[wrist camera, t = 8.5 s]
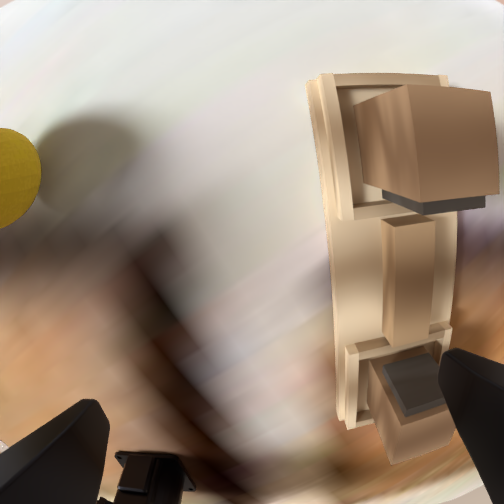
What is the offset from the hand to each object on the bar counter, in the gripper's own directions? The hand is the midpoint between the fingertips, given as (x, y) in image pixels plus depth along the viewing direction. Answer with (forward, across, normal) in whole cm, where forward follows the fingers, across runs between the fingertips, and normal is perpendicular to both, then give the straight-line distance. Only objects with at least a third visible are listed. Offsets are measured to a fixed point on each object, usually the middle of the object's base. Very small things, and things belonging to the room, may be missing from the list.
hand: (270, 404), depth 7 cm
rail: (+11, -8, +2) cm, 14 cm away
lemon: (+12, +13, -8) cm, 19 cm away
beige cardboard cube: (+10, -8, -6) cm, 14 cm away
